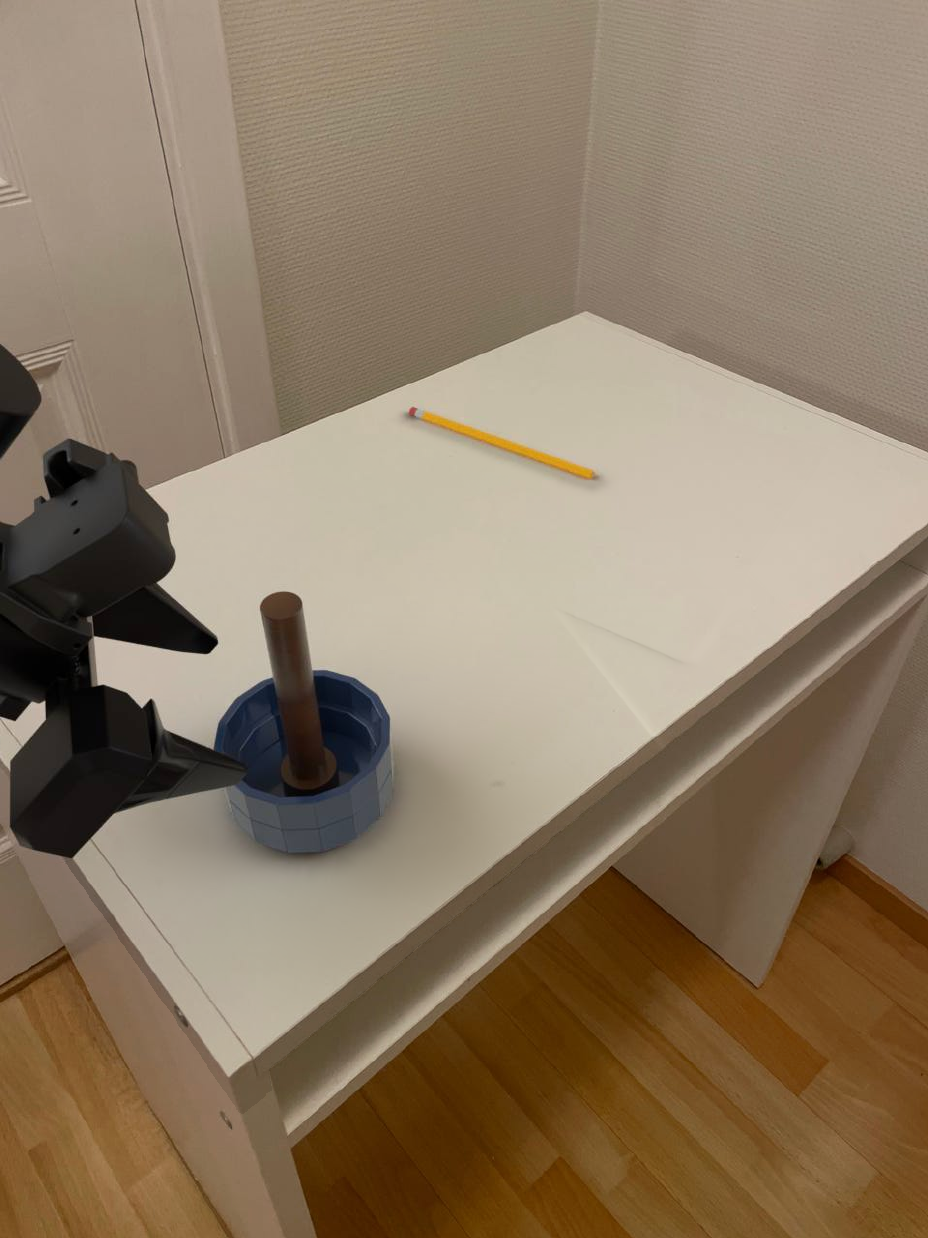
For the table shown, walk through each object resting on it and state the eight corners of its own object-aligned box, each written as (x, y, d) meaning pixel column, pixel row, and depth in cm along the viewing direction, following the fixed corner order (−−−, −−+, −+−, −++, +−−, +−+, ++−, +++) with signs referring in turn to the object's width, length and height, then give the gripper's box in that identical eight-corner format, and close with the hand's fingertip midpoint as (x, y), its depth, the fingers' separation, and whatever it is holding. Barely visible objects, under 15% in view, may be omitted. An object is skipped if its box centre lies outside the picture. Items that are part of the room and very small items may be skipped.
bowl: (256, 884, 50) (241, 830, 46) (211, 757, 56) (196, 700, 53) (419, 822, 53) (416, 766, 49) (360, 707, 59) (354, 651, 56)
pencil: (413, 412, 85) (413, 405, 84) (594, 476, 78) (595, 469, 77) (408, 416, 84) (408, 409, 84) (589, 481, 77) (590, 474, 77)
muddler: (272, 795, 53) (233, 617, 44) (300, 753, 55) (268, 576, 46) (322, 812, 52) (293, 635, 43) (348, 770, 55) (326, 592, 45)
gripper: (11, 599, 29) (378, 743, 39) (12, 331, 42) (289, 492, 52) (-163, 819, 32) (217, 898, 42) (-112, 509, 45) (170, 627, 55)
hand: (226, 707), depth 48 cm, fingers open, 9 cm apart
